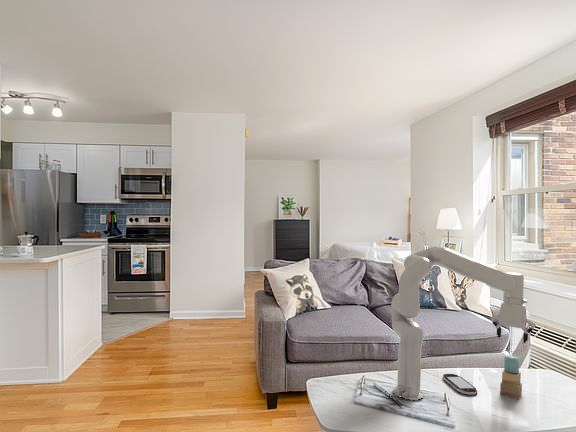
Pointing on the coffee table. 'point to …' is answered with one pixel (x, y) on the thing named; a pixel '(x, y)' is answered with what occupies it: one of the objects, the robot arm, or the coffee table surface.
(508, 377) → the tower top
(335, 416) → the coffee table surface
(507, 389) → the tower bottom
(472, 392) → the gaming console
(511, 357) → the teal rounded tapered object
